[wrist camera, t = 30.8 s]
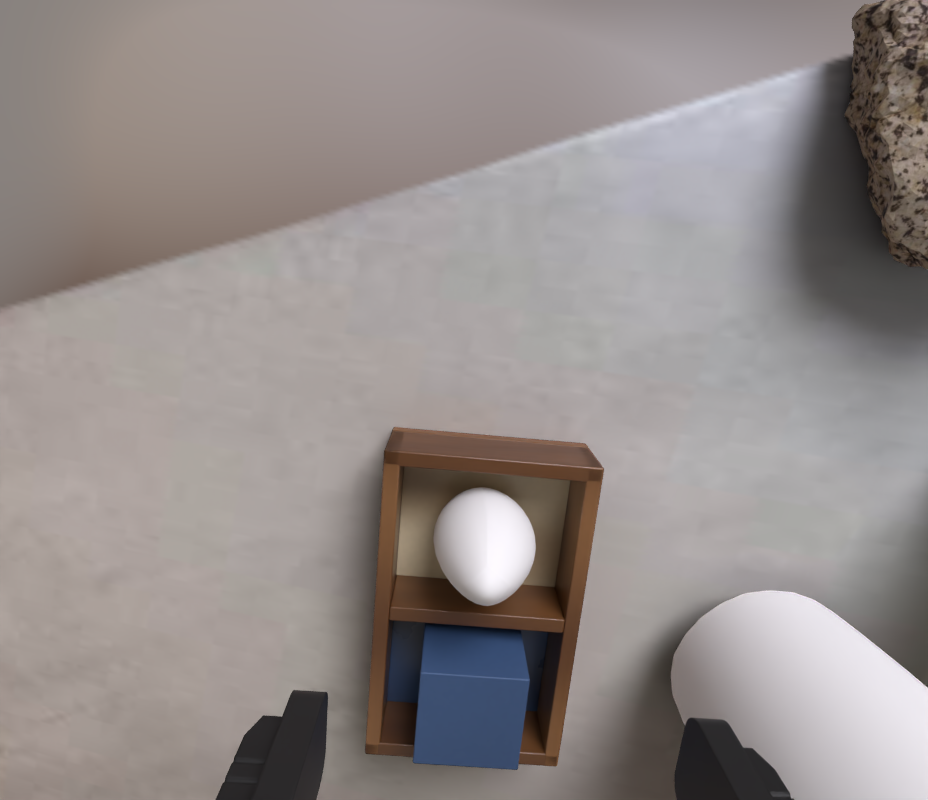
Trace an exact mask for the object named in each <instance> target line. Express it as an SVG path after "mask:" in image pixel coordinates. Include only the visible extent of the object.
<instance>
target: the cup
mask: <svg viewBox="0 0 928 800" xmlns="http://www.w3.org/2000/svg"><path fill="white" fill-rule="evenodd" d="M671 684H672V695H673V697H674V700H675V703H676V705H677V708H678V710H679V713H680V715H681V718H682V720H683V723H684V725H686V722H687V720H688V719H689V718H706V719H721V720H725V721H726V722H727V723H728V724H729V725H730V726H731V728H732V730H733V731H734V733H735V735H736V736H737V738H738V740H739V741H740V743H741V745H742V746H743V748H753V749H754V750H755V751H756V752H757V753H758V754H759V755H760V756H761V757H762V758H763V759H764V760H765V761H767V762H768V763H769V764H770V765H771V766H772V767H773V768H774V769H775V770H776V772H777V773H778V775H779V777H780V778H781V780H782V781H783V783H784V785H785V786H786V788H787V789H788V791H789V792H790V796H791V798H793V799H794V800H928V688H927V687H926V686H925V685H924V684H923V683H922V682H920V681H919V680H918V679H917V678H916V677H915V676H913V675H912V674H911V673H910V672H909V671H907V670H906V669H905V668H904V667H902V666H901V665H900V664H899V663H897V662H896V661H895V660H894V659H892V658H891V657H890V656H889V655H887V654H886V653H885V652H884V651H883V650H881V649H880V648H879V647H878V646H876V645H875V644H874V643H873V642H871V641H870V640H869V639H868V638H866V637H865V636H864V635H863V634H861V633H860V632H859V631H858V630H856V629H855V628H854V627H852V626H851V625H850V624H848V623H847V622H846V621H844V620H843V619H842V618H841V617H839V616H838V615H837V614H835V613H834V612H833V611H831V610H830V609H828V608H826V607H825V606H823V605H822V604H820V603H819V602H817V601H815V600H814V599H811V598H808V597H805V596H802V595H799V594H796V593H794V592H784V591H770V590H767V591H759V592H751V593H744V594H741V595H739V596H737V597H735V598H732V599H730V600H728V601H725V602H723V603H721V604H720V605H718V606H717V607H715V608H714V609H712V610H711V611H709V612H708V613H706V614H705V615H703V616H702V617H701V618H700V619H699V620H698V621H697V622H696V623H695V624H694V625H693V627H692V628H691V629H690V630H689V631H688V632H687V633H686V634H685V636H684V638H683V639H682V641H681V643H680V645H679V646H678V648H677V650H676V652H675V653H674V657H673V663H672V669H671Z"/></svg>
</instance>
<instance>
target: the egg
mask: <svg viewBox="0 0 928 800" xmlns="http://www.w3.org/2000/svg"><path fill="white" fill-rule="evenodd" d="M433 542H434V548H435V554H436V557H437V560H438V562H439V564H440V567H441V569H442V571H443V573H444V574H445V576H446V577H447V579H448V580H449V581H450V583H451V584H452V585H453V586H454V587H455V588H456V589H457V590H458V591H459V592H460V593H461V594H462V595H463V596H464V597H466V598H467V599H468V600H470V601H472V602H474V603H476V604H479V605H483V606H491V605H495V604H498V603H500V602H502V601H504V600H506V599H507V598H508V597H510V596H511V595H512V594H513V593H515V591H516V590H517V589H518V588H519V587H520V586H521V585H522V584H523V582H524V580H525V579H526V577H527V576H528V574H529V572H530V570H531V567H532V565H533V562H534V557H535V551H536V543H535V535H534V531H533V528H532V525H531V523H530V520H529V519H528V517H527V515H526V514H525V512H524V511H523V509H522V508H521V507H520V506H519V505H518V504H517V503H516V502H515V501H514V500H513V499H511V498H510V497H509V496H507V495H506V494H504V493H502V492H500V491H498V490H495V489H491V488H485V487H478V488H472V489H469V490H466V491H463V492H462V493H460V494H458V495H456V496H455V497H454V498H453V499H452V500H450V501H449V502H448V503H447V505H446V506H445V507H444V508H443V509H442V511H441V513H440V515H439V516H438V519H437V522H436V524H435V528H434V537H433Z"/></svg>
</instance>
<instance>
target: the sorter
mask: <svg viewBox="0 0 928 800" xmlns="http://www.w3.org/2000/svg"><path fill="white" fill-rule="evenodd" d="M603 473H604V468H603V467H602V465H601V464H600V463H599V461H598V460H597V459H596V457H595V456H594V454H593V453H592V452H591V450H590V449H589V448H588V446H587V445H586V444H584V443H572V442H560V441H549V440H537V439H525V438H514V437H502V436H490V435H479V434H467V433H455V432H444V431H432V430H420V429H409V428H397V427H394V428H393V430H392V433H391V436H390V438H389V441H388V443H387V446H386V448H385V451H384V464H383V479H382V495H381V511H380V526H379V542H378V558H377V574H376V589H375V605H374V621H373V636H372V652H371V668H370V683H369V699H368V715H367V730H366V746H365V753H366V754H376V755H392V756H407V757H413V753H414V741H415V729H416V717H417V706H418V694H419V682H420V670H421V659H422V648H423V637H424V626H425V623H435V624H448V625H462V626H475V627H489V628H502V629H516V630H521V633H522V639H523V645H524V650H525V656H526V662H527V667H528V673H529V679H530V683H529V690H528V698H527V705H526V712H525V720H524V727H523V734H522V742H521V749H520V756H519V764H528V765H543V766H557V763H558V757H559V751H560V744H561V738H562V732H563V725H564V719H565V713H566V706H567V700H568V694H569V687H570V681H571V675H572V668H573V662H574V656H575V649H576V643H577V637H578V631H579V624H580V618H581V612H582V605H583V599H584V593H585V586H586V580H587V574H588V567H589V561H590V555H591V548H592V542H593V536H594V529H595V523H596V517H597V510H598V504H599V498H600V492H601V485H602V479H603ZM478 487H485V488H491V489H495V490H498V491H500V492H502V493H504V494H506V495H507V496H509V497H510V498H511V499H513V500H514V501H515V502H516V503H517V504H518V505H519V506H520V507H521V508H522V509H523V511H524V512H525V514H526V515H527V517H528V519H529V520H530V523H531V525H532V528H533V531H534V535H535V543H536V551H535V557H534V562H533V565H532V567H531V570H530V572H529V574H528V576H527V577H526V579H525V580H524V582H523V584H522V585H521V586H520V587H519V588H518V589H517V590H516V591H515V593H513V594H512V595H511V596H510V597H508V598H507V599H506V600H504V601H502V602H500V603H498V604H495V605H491V606H483V605H479V604H476V603H474V602H472V601H470V600H468V599H467V598H466V597H464V596H463V595H462V594H461V593H460V592H459V591H458V590H457V589H456V588H455V587H454V586H453V585H452V584H451V583H450V581H449V580H448V579H447V577H446V576H445V574H444V573H443V571H442V569H441V567H440V564H439V562H438V560H437V557H436V554H435V548H434V542H433V537H434V528H435V524H436V522H437V519H438V516H439V515H440V513H441V511H442V509H443V508H444V507H445V506H446V505H447V503H448V502H449V501H450V500H452V499H453V498H454V497H455V496H456V495H458V494H460V493H462V492H463V491H466V490H469V489H472V488H478Z"/></svg>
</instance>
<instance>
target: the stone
mask: <svg viewBox="0 0 928 800" xmlns="http://www.w3.org/2000/svg"><path fill="white" fill-rule="evenodd" d="M852 29H853V31H854V34H855V39H854V41H853V45H854V53H853V61H852V67H851V68H852V72H853V77H854V78H853V81H852V84H851V86H850V87H851V89H852V91H851V93H850V103H849V105H848V108H847V110H846V112H845V115H844V116H845V118H846V120H847V122H848V124H849V125H850V126H851V128H852V129H853V130H854V131H855V132H856V134H857V137H858V140H859V144H860V147H861V151H862V155H863V157H864V158H865V160H866V161H867V163H868V167H869V175H868V183H867V192H868V196H869V199H870V201H871V203H872V206H873V208H874V210H875V212H876V214H877V215H878V216H879V217H880V219H881V223H882V234H883V235H884V236H885V237H886V238H887V240H888V242H889V253H890V254H891V255H892V256H893V258H894V260H896V261H898V262H901V263H903V264H905V265H907V266H909V267H915V266H921V267H923V268H925V269H928V0H885V1H881V2H877V3H874V4H864V5H863V6H862V7H861V8H860V9H859V10H858V11H857V12H856V14H855V15H854V17H853V18H852Z"/></svg>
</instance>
